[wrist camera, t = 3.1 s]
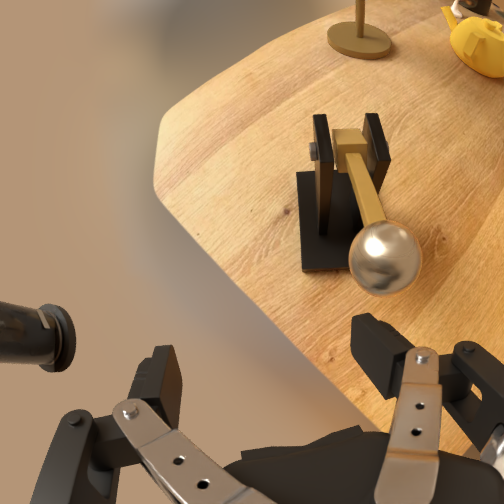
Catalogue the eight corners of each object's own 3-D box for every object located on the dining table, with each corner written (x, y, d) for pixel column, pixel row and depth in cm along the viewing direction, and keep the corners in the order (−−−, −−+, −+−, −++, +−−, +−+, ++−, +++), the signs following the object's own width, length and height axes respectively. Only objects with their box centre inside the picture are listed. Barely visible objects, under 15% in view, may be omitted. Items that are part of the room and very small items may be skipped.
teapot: (452, 23, 40) (459, -10, 30) (514, 68, 34) (528, 36, 24) (414, 41, 40) (422, -2, 30) (490, 95, 34) (509, 54, 23)
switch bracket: (380, 267, 31) (430, 211, 16) (302, 272, 33) (292, 217, 18) (367, 173, 34) (388, 81, 20) (296, 177, 36) (282, 84, 21)
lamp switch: (419, 309, 13) (441, 259, 10) (350, 315, 13) (357, 264, 11) (367, 160, 22) (368, 121, 20) (324, 162, 23) (322, 122, 20)
